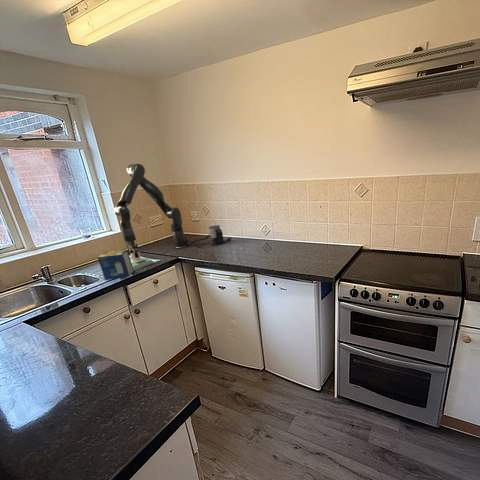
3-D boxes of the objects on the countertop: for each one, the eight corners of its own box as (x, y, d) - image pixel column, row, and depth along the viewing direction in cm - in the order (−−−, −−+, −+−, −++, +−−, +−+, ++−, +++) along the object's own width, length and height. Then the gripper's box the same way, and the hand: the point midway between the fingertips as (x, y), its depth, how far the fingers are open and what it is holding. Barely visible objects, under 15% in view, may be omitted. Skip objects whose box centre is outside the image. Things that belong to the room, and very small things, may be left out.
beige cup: (138, 257, 223) (136, 251, 221) (142, 258, 219) (140, 252, 217) (130, 260, 219) (128, 253, 217) (134, 261, 215) (132, 255, 213)
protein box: (111, 274, 204) (104, 252, 198) (134, 271, 204) (127, 249, 199) (104, 279, 194) (96, 257, 189) (128, 276, 195) (121, 254, 189)
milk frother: (209, 245, 248) (206, 227, 243) (222, 239, 260) (219, 223, 255) (222, 246, 241) (219, 228, 235) (234, 240, 253) (231, 223, 248)
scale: (142, 259, 229) (141, 255, 228) (152, 262, 218) (151, 258, 217) (124, 265, 220) (122, 261, 219) (133, 269, 209) (132, 264, 208)
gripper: (138, 234, 210) (144, 256, 216) (129, 232, 219) (136, 254, 225) (127, 236, 205) (134, 259, 211) (119, 234, 214) (126, 257, 220)
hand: (135, 256), depth 218 cm, fingers closed on beige cup, 6 cm apart
